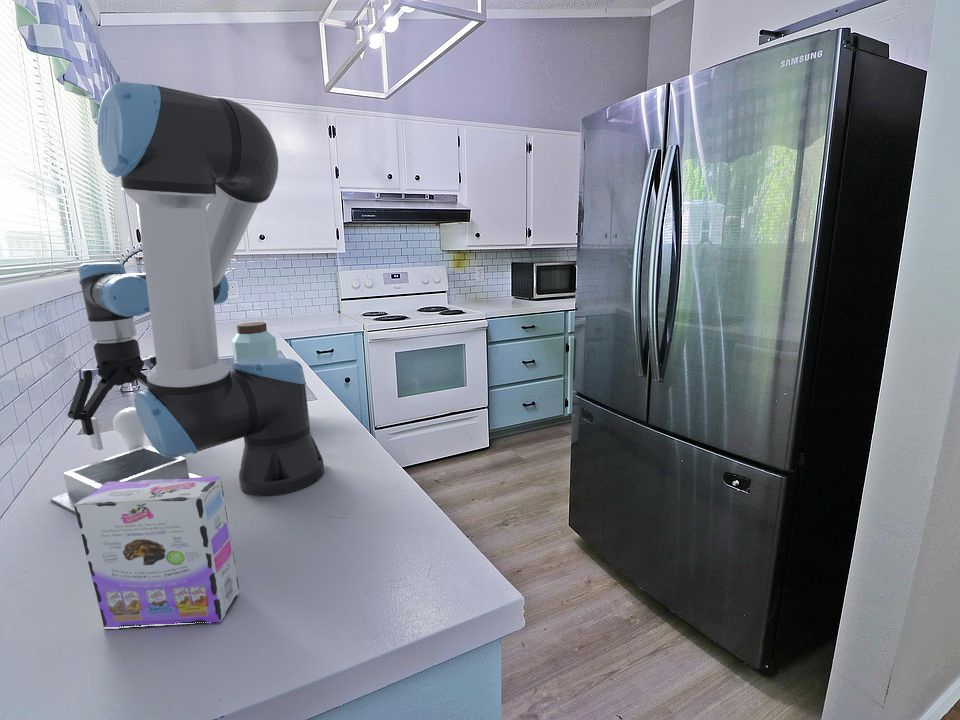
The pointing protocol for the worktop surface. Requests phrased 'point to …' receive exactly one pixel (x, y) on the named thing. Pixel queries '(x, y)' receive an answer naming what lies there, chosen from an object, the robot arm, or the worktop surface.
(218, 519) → the candy box
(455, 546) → the worktop surface
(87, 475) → the flange
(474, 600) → the worktop surface
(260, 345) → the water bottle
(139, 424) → the lightbulb
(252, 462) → the robot arm
